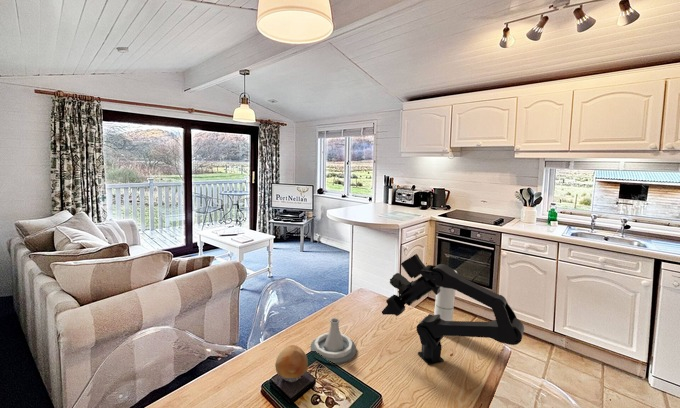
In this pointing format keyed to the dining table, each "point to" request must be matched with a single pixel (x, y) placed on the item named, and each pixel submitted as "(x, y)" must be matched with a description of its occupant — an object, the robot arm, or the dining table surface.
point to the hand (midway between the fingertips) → (388, 308)
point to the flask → (334, 337)
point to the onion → (291, 362)
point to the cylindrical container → (445, 303)
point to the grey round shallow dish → (335, 357)
